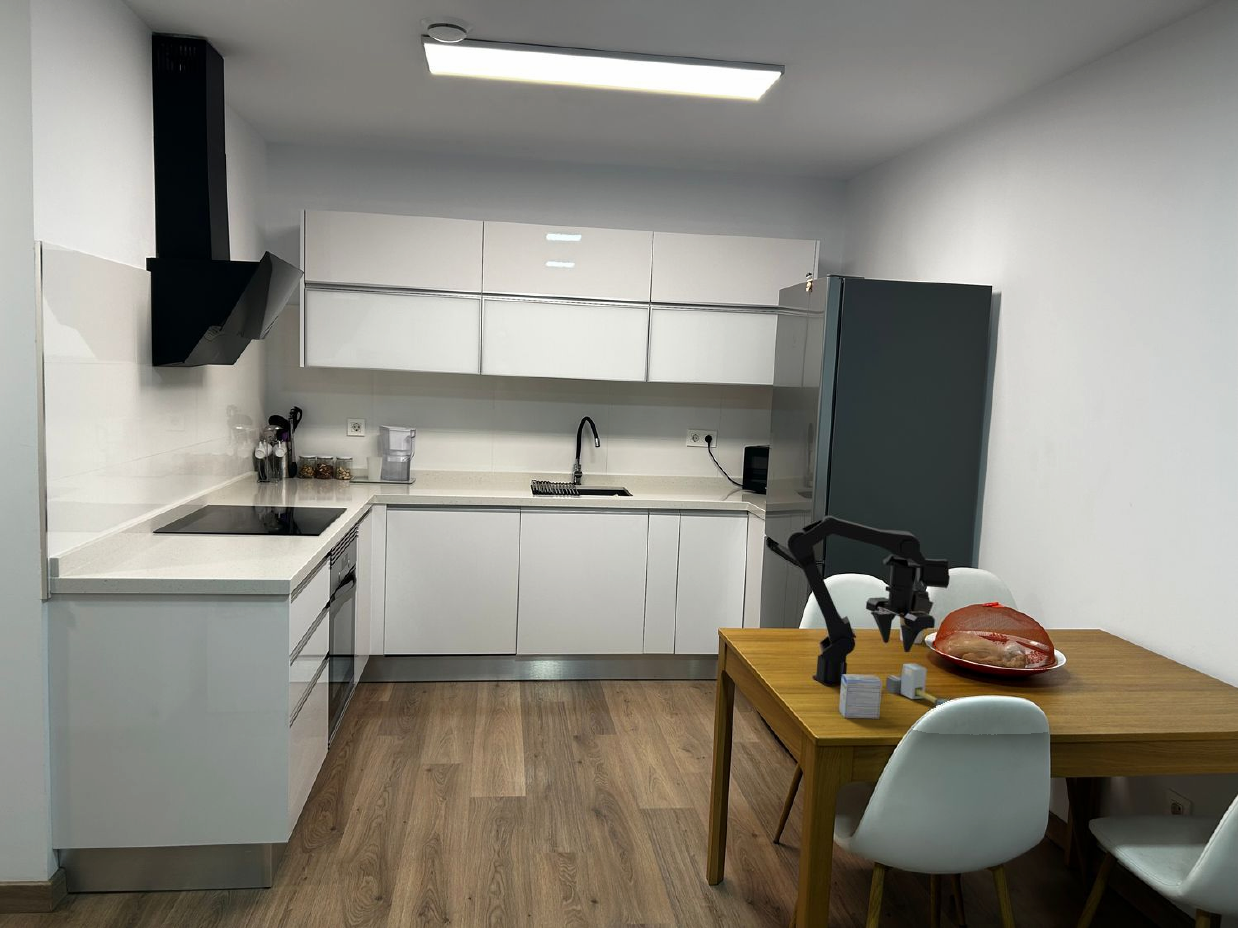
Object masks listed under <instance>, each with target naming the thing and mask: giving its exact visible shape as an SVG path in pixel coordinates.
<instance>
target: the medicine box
mask: <svg viewBox="0 0 1238 928" xmlns="http://www.w3.org/2000/svg"><path fill="white" fill-rule="evenodd" d="M882 685H883V682H882V680H880V678H879V677H878V676H877V675H876V674H854V673H853V674H852V673H846V674H842V679H841V685H840V695H839V706H838V707H839V708H838V710H839V713H840V715H841V716H842V717H843V718H848V719H849V718H851V719H852V718H853V719H874V720H875V719H880V710H881V709H880V708H881V700H882V699H881V697H882Z"/></svg>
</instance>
